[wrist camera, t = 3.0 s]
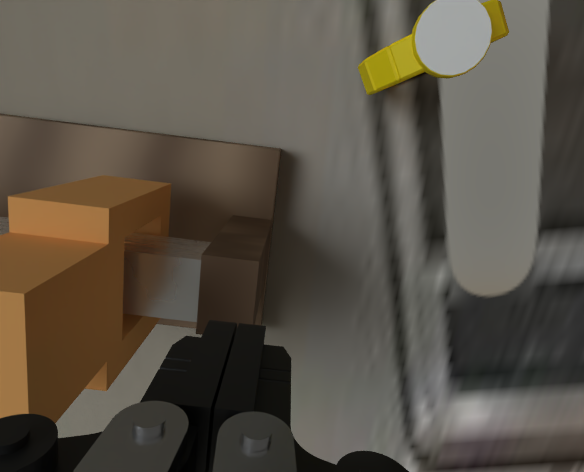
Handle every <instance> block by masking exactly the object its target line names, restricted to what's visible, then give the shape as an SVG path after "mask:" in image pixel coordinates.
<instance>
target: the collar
mask: <svg viewBox="0 0 584 472" xmlns="http://www.w3.org/2000/svg"><path fill="white" fill-rule="evenodd" d="M170 198H171V183H164V182H155V181H147V180H139V179H131V178H123V177H115V176H107V175H101V176H97V177H92V178H88V179H83V180H79V181H74V182H70V183H65V184H61V185H56V186H52V187H47V188H43V189H38V190H34V191H29V192H25V193H20V194H16V195H11V196H8V214H9V232H8V233H6V234H3V235H0V418H3V417H7V416H11V415H17V414H38V415H42V416H45V417H47V418H49V419H51V420H52V421H53V422H54V423H56V422H57V421H58V419H59V418H60V417H61V416H62V415H63V413H64V412H65V411H66V410H67V409H68V407H69V406H70V405H71V404H72V403H73V401H74V400H75V399H76V398H77V397H78V395H79V394H80V393H81V392H82V391H83V390H84V388H85V389H93V390H102V391H107V390H108V388H109V387H110V386H111V384H112V383H113V382H114V380H115V379H116V378H117V376H118V375H119V373H120V372H121V371H122V369H123V368H124V367H125V365H126V364H127V363H128V361H129V360H130V359H131V357H132V356H133V355H134V353H135V352H136V351H137V349H138V348H139V347H140V345H141V344H142V343H143V341H144V340H145V339H146V337H147V336H148V334H149V333H150V332H151V330H152V329H153V328H154V326H155V325H156V324H157V322H158V321H159V320H160V318H157V317H148V316H140V315H131V314H123V281H124V238H125V237H126V236H128V235H130V234H131V233H140V234H148V235H156V236H165V237H169V218H170Z"/></svg>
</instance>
